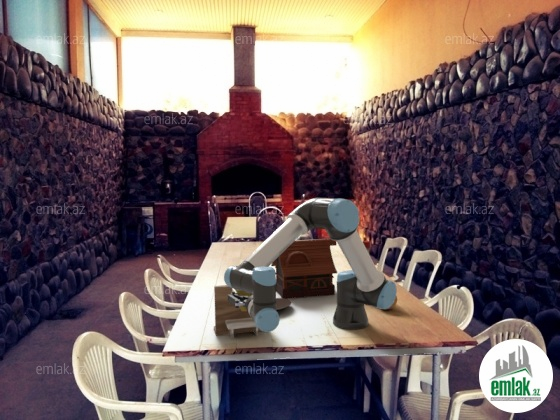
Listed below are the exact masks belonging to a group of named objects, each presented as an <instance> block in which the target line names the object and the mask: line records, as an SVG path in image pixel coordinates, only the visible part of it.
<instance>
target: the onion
mask: <svg viewBox="0 0 560 420" xmlns="http://www.w3.org/2000/svg"><path fill="white" fill-rule="evenodd" d="M397 303H398V297H397V295H396V298H395V300H394V302H393V304H392V305H391V307H389V308H388V309H383V310H385V311H386V310H392V309H394V308H395V307H396V305H397Z"/></svg>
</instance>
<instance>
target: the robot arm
mask: <svg viewBox="0 0 560 420" xmlns="http://www.w3.org/2000/svg"><path fill="white" fill-rule="evenodd" d="M359 216H360V211H359V208H358V206H357V205H356V204H355V202H353V201H352V200H349V199H345V198H340V197H339V198H338V197H337V198H333V197H332V198H331V197H328V198H327V197H314V198H310V199H307V200H306V201H304V202H302V203H301V204H300V205H298V206H297V207H295V208H294V209H293V210H292V211H291V212H290V213H289V214H288V215H287V216H286V220H285V221H284V222H283V223H282V224H281V225H280V226H279V227H277V229H276V230H275V231H274V232H273V233H272V234H271V235H269V237H267V238H266V239H265V240H264V241H263V242H262V243H261V244H259V246H258V247H257V248H256V249H254V251H253V252H251V253H250V254H249V255H248V256H247V257H246V258H245V259H244V260H243V261H242V262H241V263H240V264H239V265H232V266H229V267H228V268H227V269H226V270H225V272H224V275H223V281H224V283H225V285H228V286H229V287H231V288H233V289H232V293H231V294H228V302H230V303H231V304H233V305H234V306H235V308H239V307H240V306H243V307H245V308H246V310H247V312H248V313H249V315H250V316H251V318H252V319H253V321H254V322H255V325H256V326H257V327H258V328H259V329H260V330H262V331H261V332H266V333H270V332H273V331H275V330H276V329H277V327H278V326H279V324H280V320H281V319H280V315H279V312H278V311H277V310H276V298H277V292H276V274H275V272H276V269H275V267H273V266H271V265H272V263H273V262H274V261H275V260H276V259H277V258H278V257H279V256H280V255H281V254H282V253H283V252H284V251H285V250H286V249H287V248H288V247H289V246H290V245H291V244H292V243H293V242H294V241H297V239H298V238H299V237H300V236H302V235H306V234H307V233H308V232H309V231H311V230H313V229H320V230H325V231H326V233H327V235H328V237H329V239H332V240H334V241H336V244H338V247H339V248H340V250H341V252H342V254H343V256H344V257H345V259H346V261H347V263H348V265H349V266H350V268H351V270H343V271H340V272H338V273H337V276H336V308H335V310H334V314H333V317H332V324H333V325H334V327H337V328H341V329H345V330H360V329H364V328H367V327H368V326H369V317H368V314H367V311H366V308H365V306H369V307H373V308H377V310H378V309H381V310H384V309H386V310H389V309H388V308H389V307H391V305H392V304H393V302H394V300H395V298H396V296H397V292H398V291H397V285H396V283H395V281H393V280H388V279H387V277H386V276H385V275H384V272H382V271H381V270H380V269H377V267H376V265H375V263H374V261H373V259H372V257H371V256H370V252H369V253H368V251H367V249H366V247H365V245H364V244H363V240H362V238H361V236H360V234H359V232H358V228H359V223H360V217H359ZM235 289H236V290H240V291H243V292H246V293H249V294H252V296H250V297H248V296H241V295H238V294H237V292H236V290H235Z"/></svg>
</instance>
